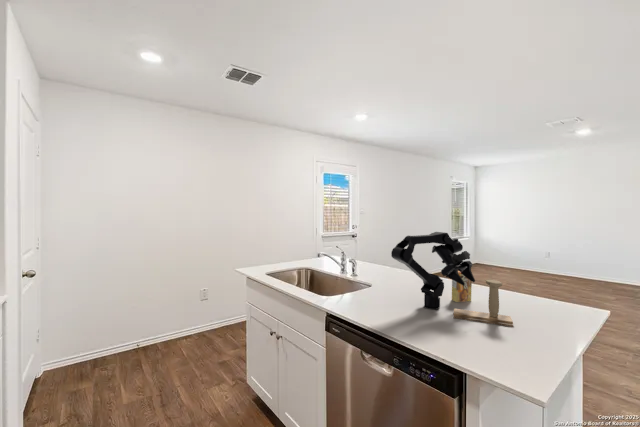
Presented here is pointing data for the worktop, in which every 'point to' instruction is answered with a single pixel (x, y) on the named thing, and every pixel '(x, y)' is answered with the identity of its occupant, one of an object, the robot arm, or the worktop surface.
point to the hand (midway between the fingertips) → (469, 283)
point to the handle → (493, 297)
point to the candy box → (461, 290)
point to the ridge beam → (482, 317)
